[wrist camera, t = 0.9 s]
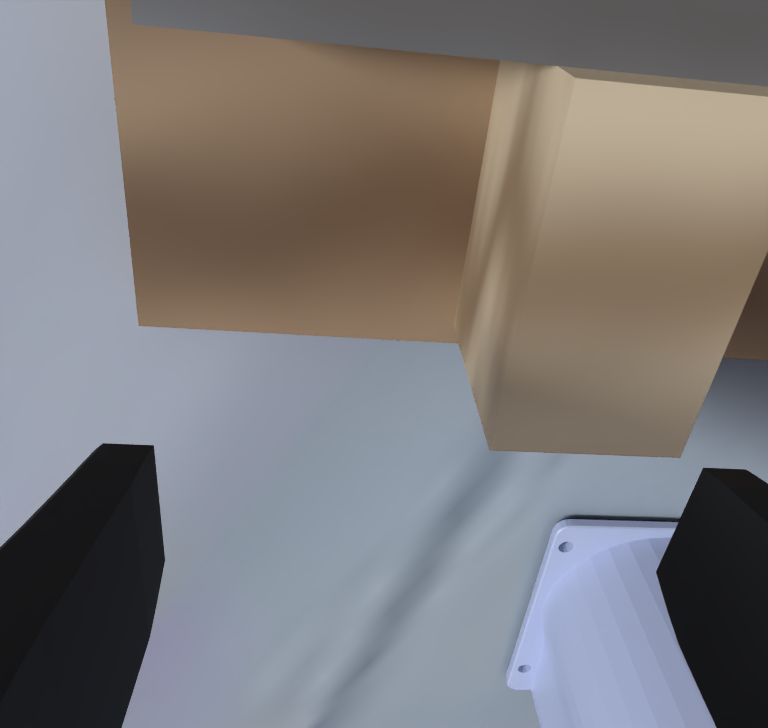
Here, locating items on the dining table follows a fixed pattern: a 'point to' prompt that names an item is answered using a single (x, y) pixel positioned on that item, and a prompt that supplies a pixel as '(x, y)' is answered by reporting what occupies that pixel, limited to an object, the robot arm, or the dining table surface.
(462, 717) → the dining table surface
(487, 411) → the scraper
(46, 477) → the dining table surface
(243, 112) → the board
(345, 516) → the dining table surface
